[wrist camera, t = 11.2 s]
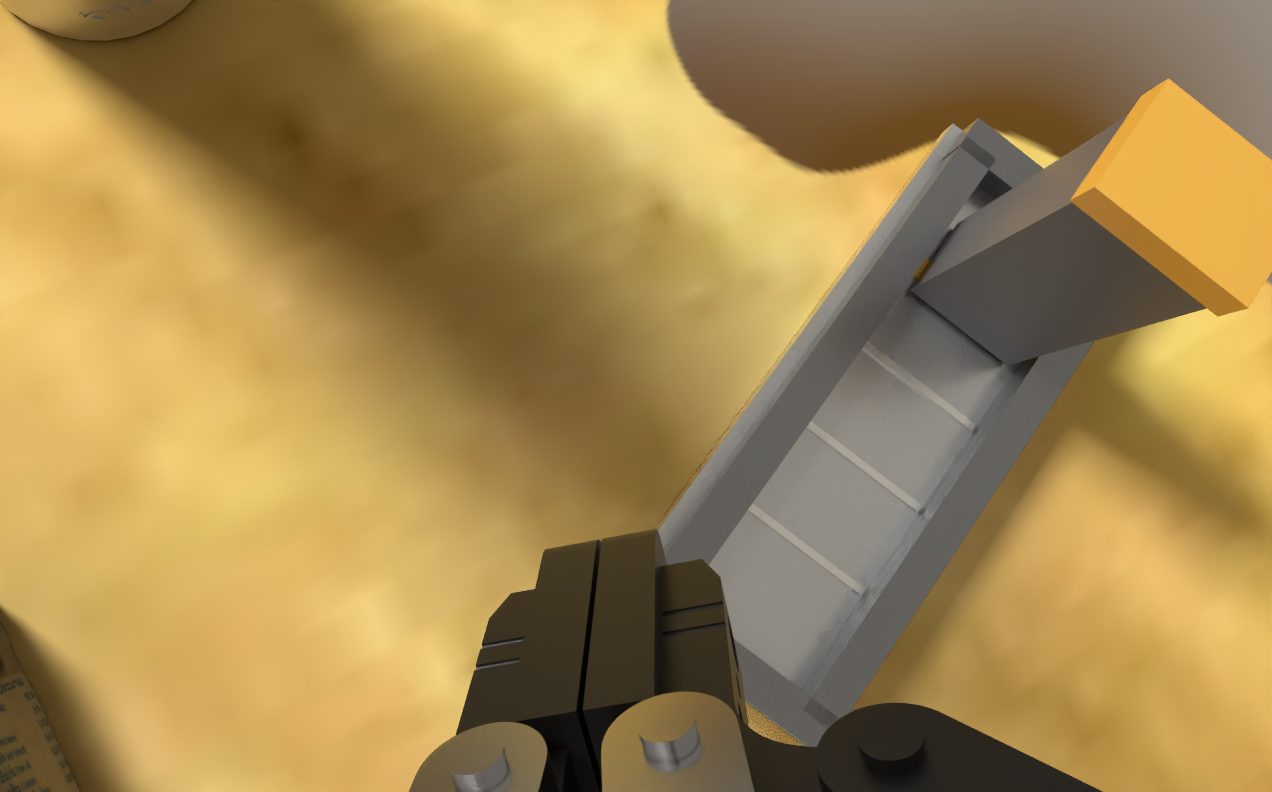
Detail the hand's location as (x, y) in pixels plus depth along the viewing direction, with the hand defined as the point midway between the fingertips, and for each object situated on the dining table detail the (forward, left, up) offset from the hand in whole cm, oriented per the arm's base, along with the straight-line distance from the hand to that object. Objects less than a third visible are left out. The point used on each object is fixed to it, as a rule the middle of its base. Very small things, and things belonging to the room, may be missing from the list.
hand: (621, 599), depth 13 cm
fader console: (+4, +14, -26) cm, 29 cm away
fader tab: (+1, +20, -24) cm, 32 cm away
